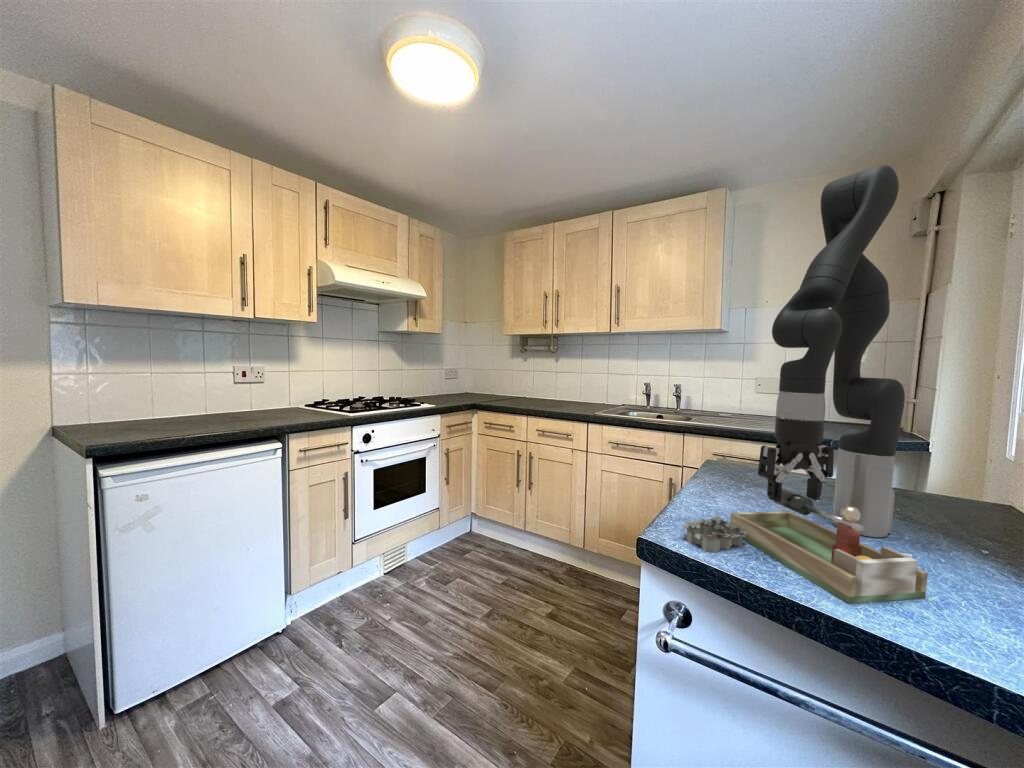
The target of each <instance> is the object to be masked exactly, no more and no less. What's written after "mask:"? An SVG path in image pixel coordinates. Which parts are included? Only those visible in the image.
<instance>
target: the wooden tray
mask: <svg viewBox="0 0 1024 768" xmlns="http://www.w3.org/2000/svg"><path fill="white" fill-rule="evenodd" d="M729 518H730V519H729V523H731V524H733V525H734V526H739V528H740V530H741V531H743V532H745V531H747V534H746V537H744V536H743V540H742V541H744V542H746V543H748V544H750V545H751V546H752V547H754V548H756V549H757V550H759V551H761V552H763V553H764V554H766V555H768V557H769V556H770V557H771V558H773V559H774V560H775V561H778V562H779V563H781V564H782V565H784V566H785V567H787V568H789V569H791V570H792V571H793V572H795V573H797V574H798V575H800V576H802V577H803V578H805V579H807V580H808V581H810V582H811V583H813V584H815V585H817V586H818V587H820V588H822V589H824V591H826V592H829V594H831V595H833V596H835V597H837V598H838V599H840V600H842V601H843V602H845V603H847V604H859V603H860V604H861V603H874V602H875V603H876V602H888V601H889V602H890V601H901V600H902V601H904V600H917V599H925V598H926V596H927V594H926V593H927V586H928V584H927V583H928V576H929V573H928V572H927V571H925V570H922V569H920V568H918V564H919V563H918V562H919V560H918V559H915V558H912V557H911V556H908V555H906V554H903V553H901V552H898V551H896V550H894V549H892V548H889V547H887V546H881V549H880V550H878V549H875V548H873V547H871V546H869V545H866V544H864V543H862V542H860V541H859V546H860V547H862V553H861V556H867V557H870V558H872V559H869V560H861V559H858V558H856V557H854V556H852V555H850V554H848V553H846V552H844V551H842V550H840V549H834V560H833V564H831V557H832V546H833V544H836V536H837V531H835V530H833V529H830V528H827V527H826V526H823V525H821V524H819V523H817V522H814V521H812V520H810V519H808V518H805V517H803V516H801V515H800V514H798V513H797V514H796V513H795V512H792V511H789V510H783V511H781V510H780V511H779V510H778V511H750V512H749V511H747V512H746V511H745V512H741V511H740V512H730V517H729Z"/></svg>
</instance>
